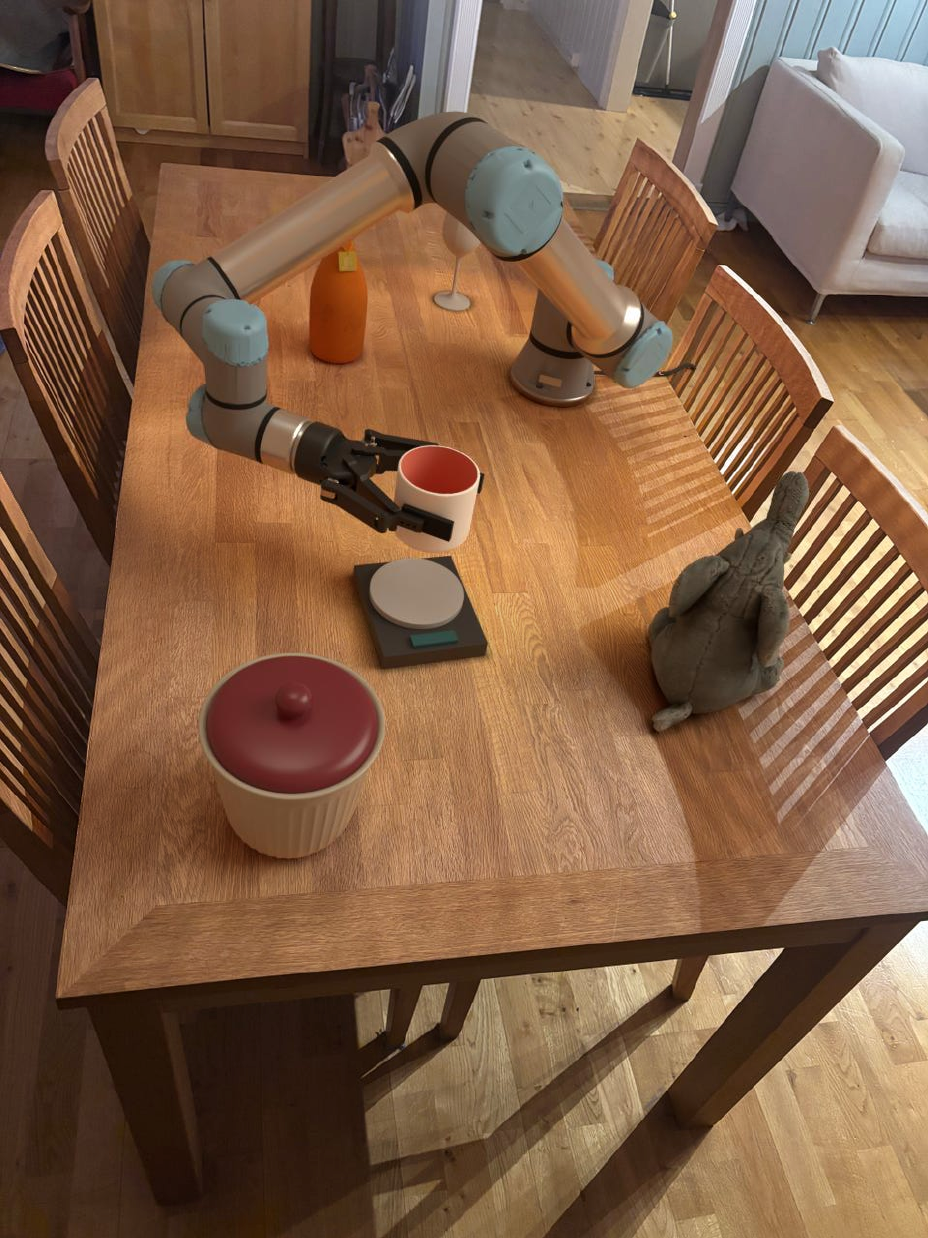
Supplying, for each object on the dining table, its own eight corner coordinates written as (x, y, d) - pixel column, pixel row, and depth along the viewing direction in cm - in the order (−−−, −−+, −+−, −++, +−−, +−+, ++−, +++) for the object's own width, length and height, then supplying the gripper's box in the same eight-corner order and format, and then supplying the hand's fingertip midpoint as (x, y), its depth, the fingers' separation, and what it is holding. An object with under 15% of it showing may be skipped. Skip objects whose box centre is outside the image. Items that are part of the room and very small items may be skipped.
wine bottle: (299, 357, 171) (304, 185, 149) (319, 331, 177) (326, 164, 156) (352, 372, 170) (365, 201, 149) (370, 345, 177) (385, 179, 155)
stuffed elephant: (733, 614, 140) (807, 463, 121) (790, 729, 126) (884, 580, 107) (608, 617, 136) (664, 461, 117) (653, 737, 122) (725, 582, 103)
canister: (405, 813, 109) (428, 694, 94) (285, 921, 98) (289, 806, 83) (294, 720, 116) (299, 595, 101) (170, 811, 105) (154, 686, 90)
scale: (448, 567, 138) (452, 549, 136) (485, 655, 127) (489, 638, 125) (352, 577, 134) (354, 559, 132) (382, 669, 123) (384, 651, 121)
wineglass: (475, 298, 195) (493, 194, 180) (463, 315, 190) (480, 208, 175) (440, 288, 196) (455, 183, 181) (427, 303, 191) (441, 197, 176)
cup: (459, 566, 121) (471, 503, 114) (381, 546, 121) (389, 483, 114) (474, 517, 128) (487, 456, 121) (401, 499, 128) (409, 436, 121)
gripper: (342, 428, 133) (492, 482, 130) (260, 520, 118) (429, 584, 114) (346, 381, 128) (502, 436, 125) (260, 471, 112) (437, 536, 109)
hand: (467, 507), depth 120 cm, fingers closed on cup, 10 cm apart
